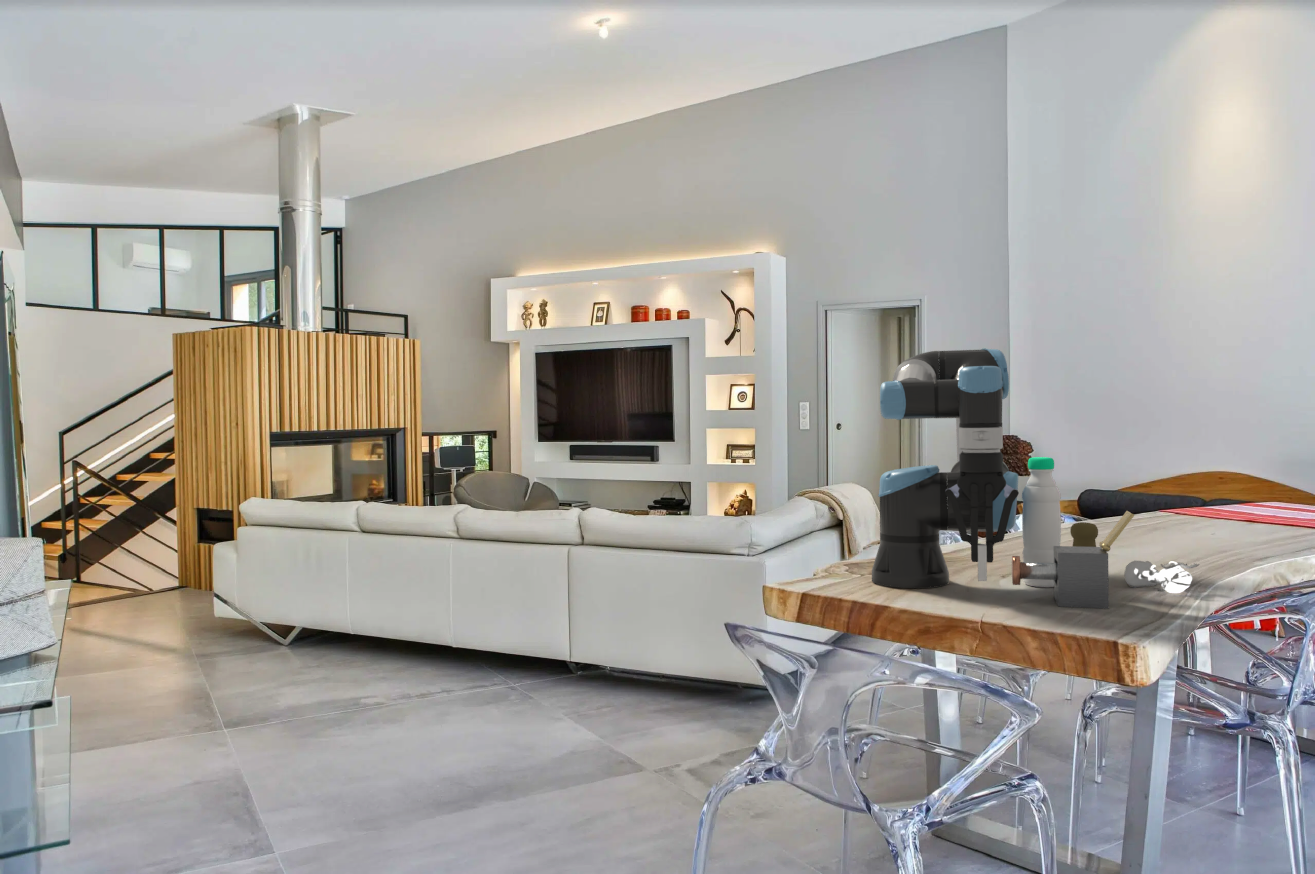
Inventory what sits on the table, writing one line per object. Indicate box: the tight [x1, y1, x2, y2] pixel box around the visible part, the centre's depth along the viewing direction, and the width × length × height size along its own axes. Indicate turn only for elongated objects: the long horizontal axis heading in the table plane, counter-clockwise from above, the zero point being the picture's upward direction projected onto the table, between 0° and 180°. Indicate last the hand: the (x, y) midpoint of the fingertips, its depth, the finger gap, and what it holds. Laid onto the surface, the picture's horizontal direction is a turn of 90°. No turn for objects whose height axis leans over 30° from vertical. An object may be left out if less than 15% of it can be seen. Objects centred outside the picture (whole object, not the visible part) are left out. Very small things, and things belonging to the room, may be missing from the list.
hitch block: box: [1053, 545, 1110, 609], centre depth 170 cm, size 8×8×10 cm
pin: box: [1011, 555, 1057, 586], centre depth 171 cm, size 13×5×5 cm, turn 73°
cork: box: [1070, 521, 1099, 547], centre depth 195 cm, size 6×6×11 cm
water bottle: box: [1021, 456, 1062, 588], centre depth 187 cm, size 7×7×25 cm
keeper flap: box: [1098, 510, 1135, 553], centre depth 168 cm, size 8×4×1 cm
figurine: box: [1123, 560, 1200, 594], centre depth 180 cm, size 9×6×12 cm
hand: (982, 579), depth 175 cm, fingers closed
